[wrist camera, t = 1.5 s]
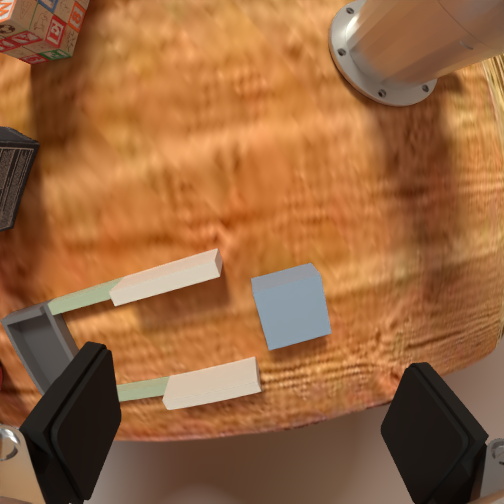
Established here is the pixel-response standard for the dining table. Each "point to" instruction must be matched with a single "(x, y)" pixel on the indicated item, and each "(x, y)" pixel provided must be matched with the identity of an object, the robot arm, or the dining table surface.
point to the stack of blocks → (40, 28)
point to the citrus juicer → (1, 378)
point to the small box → (13, 172)
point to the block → (291, 305)
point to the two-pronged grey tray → (120, 291)
